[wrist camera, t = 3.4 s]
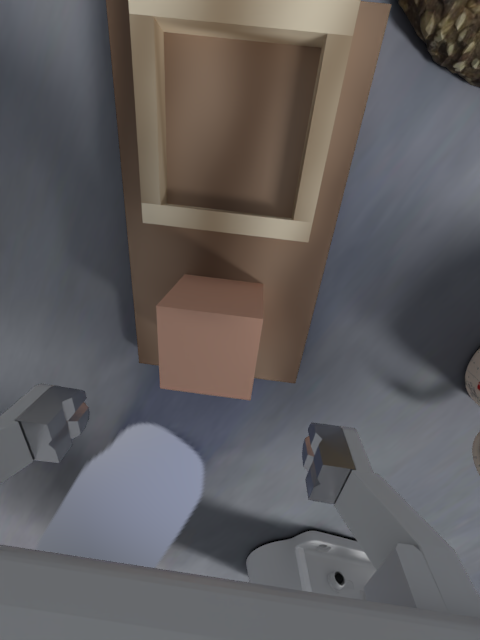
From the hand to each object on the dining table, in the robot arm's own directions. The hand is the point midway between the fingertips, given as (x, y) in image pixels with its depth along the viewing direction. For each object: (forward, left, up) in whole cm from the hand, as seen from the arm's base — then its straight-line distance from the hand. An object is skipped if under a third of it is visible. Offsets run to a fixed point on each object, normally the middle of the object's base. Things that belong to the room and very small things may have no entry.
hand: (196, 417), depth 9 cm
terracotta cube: (0, 0, -9) cm, 9 cm away
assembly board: (0, -5, -11) cm, 12 cm away
